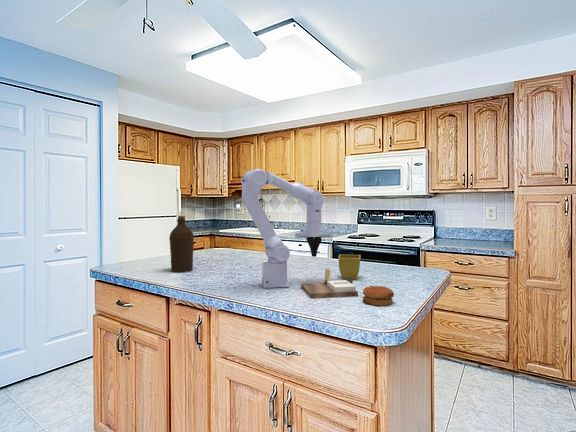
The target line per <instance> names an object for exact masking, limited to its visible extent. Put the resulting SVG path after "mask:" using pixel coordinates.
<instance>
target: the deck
mask: <svg viewBox="0 0 576 432" xmlns="http://www.w3.org/2000/svg"><path fill="white" fill-rule="evenodd" d="M300 288H301V289H302V290H303V292H304V293H305V294H306V295H307V296H308V297H309V298H310V299H327V298H345V297H358V296H359V293H358V290H356V291H342V292H335V291H334V290H332V289H331V288H330V287H329V286H328V285H327V284H326V283H325V282H307V283H306V282H305V283H301V284H300Z"/></svg>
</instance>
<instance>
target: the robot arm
mask: <svg viewBox="0 0 576 432" xmlns="http://www.w3.org/2000/svg"><path fill="white" fill-rule="evenodd" d="M240 182H241V200H242V202H243V204H244V206H245V208H246V209H247V211H248V214H249V215H250V217H251V219H252V221H253V223H254V225H255V227H256V228H257V230H258V232H259V234H260V236H261V238H262V240H263V246H264V248H265V249H264V250H265V255H266V257H267V261H266V262H262V263H261V284H262V286H263V288H264V289H269V288H270V289H272V288H290V287H291V286H290V284H289V283H288V260H289V258H290V256H291V255H290V254H291V252H290V249H289V247H288V246H287V245H286V244H285V243H284V242H283V240H282V239H281V238H280V237H279V236H278V235H277V233H276V231H275V229H274V228H273V226H272V224H271V221H270V220H269V217H268V216H267V213H266V212H265V210H264V207H263V206H262V204H261V202H260V200H259V199H258V197H259V196H260V195H259V194H260V192H261V190H262V189H263V188H264V187H265V186H267V185H270V186H272V187H276V188H279V189H281V190H283V191H286V192H288V194H289V196H290V197H292V198H293V199H296V200H298V201H301V202H303V203H304V204H305V205H306V232H296V233H294V236H295V239H306V241H307V244H308V246H309V249H310V253H311V257H313V258H317V254H318V251H319V247H320V245H321V243H322V241H323V239H325V238H328V239H330V238H332V239H333V237H334V236H333V232H330V231H329V232H322V208H323V206H322V205H323V204H324V202H325V197H324V194H322V192H321V191H320V190H314V189H313V187H308V186H306V185H304V184H303V182H301V181H300V182H297V181H296V182H294V183H291V182H289V181H287V180H285V179H283V178H282V177H280V176H278V175H275V174H274V173H272V172H270V171H269V170H264V169H262V168H256V169H253V170H248V171H246V172H245V173H244V175H243V176H242V179H241V181H240Z"/></svg>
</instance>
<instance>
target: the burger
mask: <svg viewBox="0 0 576 432" xmlns="http://www.w3.org/2000/svg"><path fill="white" fill-rule="evenodd" d="M362 294H363V295H364V296H362V302H363V303H366V304H368V305H373V306H379V307H380V306H381V307H382V306H383V307H388V306H391V305H392V304H393V298H394V297H395V293H394V291H393V289H391V288H389V287H387V286H381V285H380V286H379V285H369V286H366V287H364V288H363V290H362Z"/></svg>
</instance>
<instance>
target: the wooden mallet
mask: <svg viewBox="0 0 576 432" xmlns="http://www.w3.org/2000/svg"><path fill="white" fill-rule="evenodd" d="M335 280H336V279H331V269H330V268H329V267H327V268H325V269H324V283H326V284H327V281H335ZM345 280H346V281H348V282H350V283H351V284H353V283H354V282H353V281H354V279H345ZM353 285H354V284H353Z"/></svg>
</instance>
